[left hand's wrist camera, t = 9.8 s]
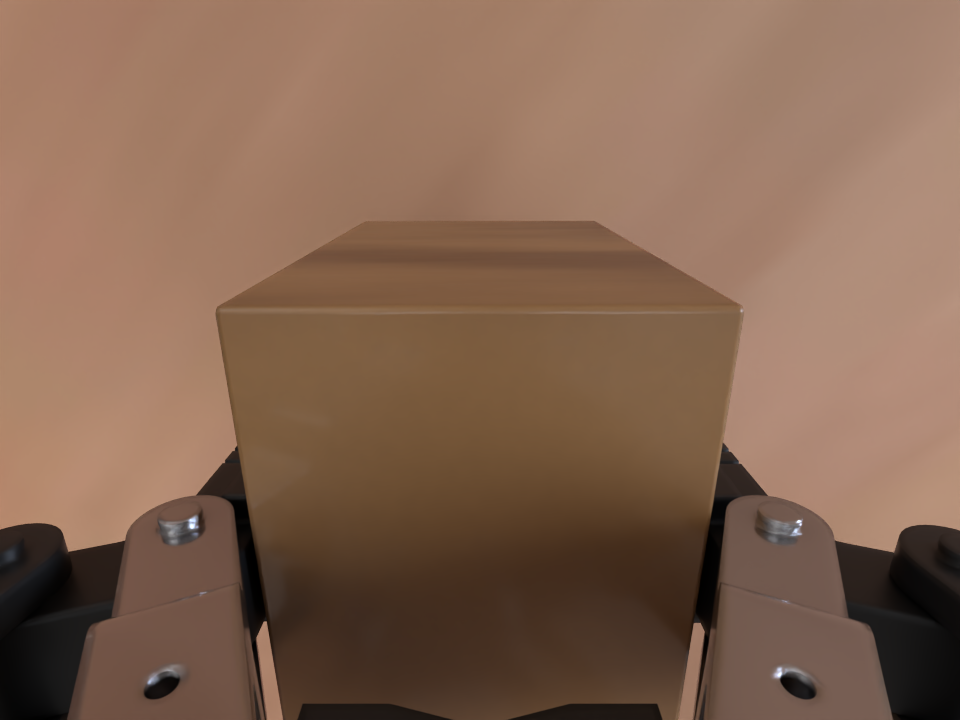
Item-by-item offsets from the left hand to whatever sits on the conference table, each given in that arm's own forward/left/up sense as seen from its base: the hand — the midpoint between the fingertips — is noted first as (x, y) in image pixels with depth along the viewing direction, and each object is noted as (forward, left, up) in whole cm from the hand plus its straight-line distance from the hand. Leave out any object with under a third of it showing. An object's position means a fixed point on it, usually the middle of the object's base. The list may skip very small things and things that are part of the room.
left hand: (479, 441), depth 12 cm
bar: (+8, -2, -4) cm, 9 cm away
